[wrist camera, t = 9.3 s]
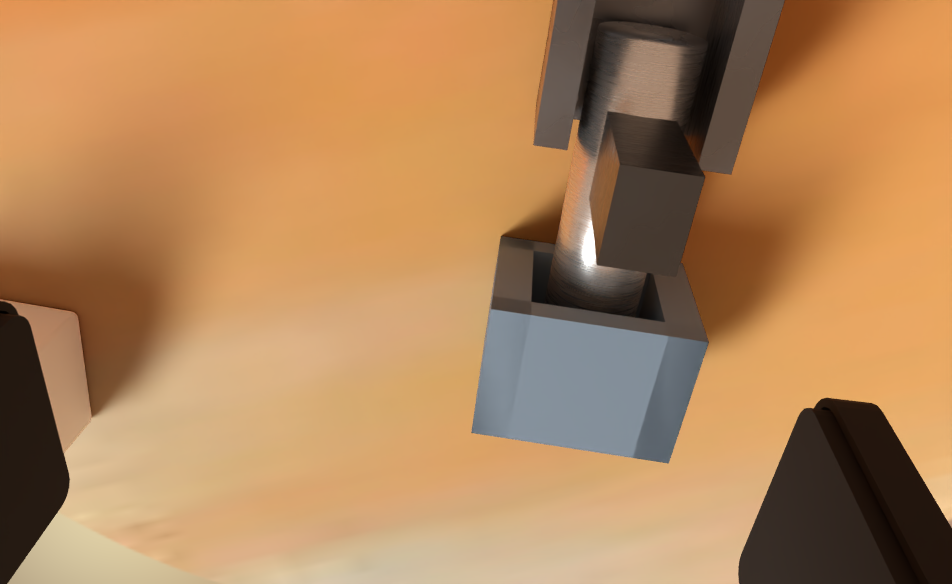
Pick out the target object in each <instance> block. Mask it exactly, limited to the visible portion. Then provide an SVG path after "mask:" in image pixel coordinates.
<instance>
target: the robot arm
mask: <svg viewBox="0 0 952 584" xmlns="http://www.w3.org/2000/svg"><path fill="white" fill-rule="evenodd" d="M69 481H70V479H69V472H68V469H67V465H66V461H65V457H64V453H63V449H62V445H61V441H60V438H59V434H58V430H57V426H56V422H55V418H54V414H53V410H52V407H51V403H50V399H49V395H48V391H47V387H46V383H45V379H44V376H43V372H42V368H41V364H40V360H39V356H38V352H37V348H36V345H35V341H34V337H33V333H32V329H31V326H30V323H29V321H28V320H27V319H26V318H25V317H23V316H20V315H19V314H18V312H17V310H16V308H15V307H14V306H13V305H12V304H10V303H8V302H5V301H0V584H7V583H8V582H9V580H10V579H11V578H12V576H13V575H14V573H15V572H16V570H17V569H18V568H19V566H20V565H21V563H22V562H23V561H24V559H25V557H26V556H27V555H28V553H29V552H30V551H31V549H32V548H33V546H34V545H35V543H36V542H37V541H38V539H39V538H40V536H41V535H42V534H43V532H44V531H45V529H46V528H47V526H48V525H49V524H50V522H51V521H52V519H53V518H54V517H55V515H56V514H57V512H58V511H59V509H60V508H61V506H62V505H63V503H64V501H65V499H66V496H67V493H68V489H69ZM738 575H739V584H952V528H951V526H950V524H949V523H948V521H947V519H946V518H945V516H944V514H943V513H942V511H941V509H940V508H939V506H938V504H937V503H936V501H935V499H934V498H933V496H932V494H931V493H930V491H929V489H928V488H927V486H926V484H925V482H924V481H923V479H922V477H921V476H920V474H919V472H918V471H917V469H916V467H915V466H914V464H913V462H912V461H911V459H910V457H909V456H908V454H907V452H906V451H905V449H904V447H903V446H902V444H901V442H900V440H899V439H898V437H897V435H896V434H895V432H894V430H893V429H892V427H891V425H890V424H889V422H888V420H887V419H886V417H885V415H884V414H883V412H882V411H881V409H880V408H879V407H878V406H877V405H875V404H872V403H866V402H857V401H849V400H840V399H832V398H824V399H821V400H820V401H819V402H818V403H817V404H816V406H815V408H814V409H813V408H806V409H804V410H803V411H802V412H801V413H800V415H799V417H798V419H797V421H796V424H795V426H794V428H793V431H792V433H791V436H790V438H789V440H788V443H787V445H786V448H785V450H784V453H783V455H782V457H781V460H780V462H779V465H778V467H777V469H776V472H775V474H774V477H773V479H772V482H771V484H770V486H769V489H768V491H767V494H766V496H765V498H764V501H763V503H762V506H761V508H760V511H759V513H758V515H757V518H756V520H755V523H754V525H753V527H752V530H751V532H750V535H749V537H748V540H747V542H746V544H745V547H744V549H743V552H742V554H741V557H740V561H739V573H738Z"/></svg>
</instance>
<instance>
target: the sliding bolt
mask: <svg viewBox="0 0 952 584" xmlns="http://www.w3.org/2000/svg"><path fill="white" fill-rule="evenodd" d="M707 47H708V42H707V41H706V40H704V39H703V38H701V37H698V36H696V35H693V34H690V33H687V32H683V31H679V30H675V29H671V28H666V27H661V26H656V25H650V24H643V23H634V22H620V21H611V22H603V23H600V24H599V26H598V31H597V36H596V41H595V46H594V51H593V56H592V61H591V66H590V72H589V77H588V82H587V87H586V92H585V97H584V102H583V107H582V112H581V117H580V122H579V128H578V133H577V138H576V143H575V148H574V153H573V158H572V163H571V168H570V173H569V179H568V184H567V189H566V194H565V199H564V204H563V209H562V214H561V219H560V224H559V229H558V235H557V240H556V245H555V250H554V255H553V260H552V265H551V270H550V275H549V280H548V286H547V291H546V296H545V301H544V304H548V305H555V306H562V307H568V308H575V309H581V310H588V311H595V312H601V313H608V314H614V315H621V316H627V317H634V318H635V316H636V312H637V308H638V304H639V301H640V297H641V293H642V290H643V286H644V282H645V278H646V275H647V273H651V274H658V275H664V276H671V277H676V276H677V273H678V269H679V266H680V262H681V259H682V255H683V252H684V249H685V245H686V242H687V238H688V235H689V231H690V228H691V224H692V221H693V218H694V214H695V211H696V207H697V204H698V200H699V197H700V193H701V190H702V187H703V183H704V180H705V176H704V174H703V172H702V170H701V168H700V166H699V164H698V162H697V160H696V158H695V156H694V154H693V152H692V150H691V148H690V146H689V144H688V142H687V140H686V138H685V136H684V133H685V129H686V125H687V122H688V118H689V114H690V111H691V107H692V103H693V99H694V96H695V92H696V88H697V84H698V81H699V77H700V73H701V70H702V66H703V62H704V58H705V55H706V51H707Z"/></svg>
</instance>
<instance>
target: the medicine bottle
mask: <svg viewBox="0 0 952 584" xmlns="http://www.w3.org/2000/svg"><path fill="white" fill-rule="evenodd" d="M0 301H5V302H8V303H10V304H12V305H13V306H14V307H15V308H16V310H17V312H18V314H19V315H20V316H23V317H25V318H26V319H27V320H28V321H29V323H30V326H31V329H32V333H33V337H34V341H35V345H36V348H37V352H38V356H39V360H40V364H41V368H42V372H43V376H44V379H45V383H46V387H47V391H48V395H49V399H50V403H51V407H52V410H53V414H54V418H55V422H56V426H57V430H58V434H59V438H60V441H61V445H62V449H63V453H64V452H65V451H66V450H67V449H68V448H69V447H70V445H71V444H72V443H73V442H74V441H75V439H76V438H77V437H78V436H79V435H80V433H81V432H82V431H83V430H84V429H85V427H86V426H87V425H88V424H89V423H90V421H91V418H92V415H91V408H90V401H89V393H88V386H87V379H86V371H85V364H84V357H83V349H82V342H81V335H80V327H79V320H78V316H77V314H75V313H74V312H72V311H67V310H61V309H55V308H49V307H43V306H37V305H32V304H26V303H20V302H14V301H8V300H2V299H0Z"/></svg>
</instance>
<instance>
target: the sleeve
mask: <svg viewBox="0 0 952 584" xmlns="http://www.w3.org/2000/svg"><path fill="white" fill-rule="evenodd" d="M784 1H785V0H554V1H553V7H552V13H551V19H550V25H549V31H548V37H547V43H546V49H545V55H544V61H543V67H542V73H541V79H540V85H539V91H538V97H537V103H536V114H535V129H534V144H533V145H536V146H543V147H550V148H556V149H563V150H567V148H568V143H569V138H570V133H571V128H572V122H573V119H577V120H580V117H581V112H582V107H583V102H584V97H585V92H586V87H587V82H588V77H589V72H590V66H591V61H592V56H593V51H594V46H595V41H596V36H597V31H598V26H599V24H600V23H603V22H611V21H620V22H634V23H643V24H650V25H656V26H661V27H666V28H671V29H675V30H679V31H683V32H687V33H690V34H693V35H696V36H698V37H701V38H703V39H704V40H706V41H707V42H708V47H707V51H706V55H705V58H704V62H703V66H702V70H701V73H700V77H699V81H698V84H697V88H696V92H695V96H694V99H693V103H692V107H691V111H690V114H689V118H688V122H687V125H686V129H685V133H684V136H685V138H686V140H687V142H688V144H689V146H690V148H691V150H692V152H693V154H694V156H695V158H696V160H697V162H698V164H699V166H700V168H701V170H704V171H711V172H717V173H724V174H731V173H732V170H733V167H734V163H735V160H736V157H737V154H738V150H739V147H740V144H741V141H742V137H743V134H744V131H745V128H746V124H747V121H748V118H749V115H750V111H751V108H752V105H753V102H754V99H755V95H756V92H757V89H758V86H759V82H760V79H761V76H762V73H763V69H764V66H765V63H766V60H767V56H768V53H769V50H770V47H771V43H772V40H773V37H774V34H775V30H776V27H777V24H778V21H779V17H780V14H781V11H782V8H783V4H784Z"/></svg>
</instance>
